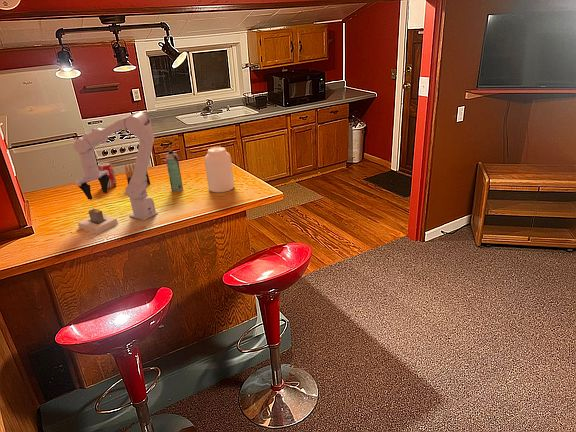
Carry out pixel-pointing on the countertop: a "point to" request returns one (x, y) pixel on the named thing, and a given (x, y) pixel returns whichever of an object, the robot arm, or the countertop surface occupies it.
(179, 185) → the spray can
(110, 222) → the socket block
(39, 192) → the countertop surface
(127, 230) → the countertop surface
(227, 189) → the white plastic jar
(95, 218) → the key peg
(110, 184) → the soda can
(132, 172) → the ammunition clip
